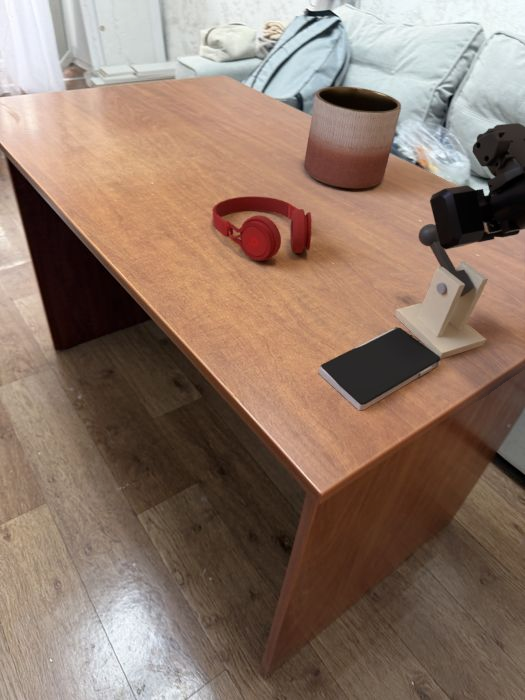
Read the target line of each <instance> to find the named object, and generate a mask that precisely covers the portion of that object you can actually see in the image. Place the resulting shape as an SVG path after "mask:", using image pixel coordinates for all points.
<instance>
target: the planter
mask: <svg viewBox="0 0 525 700" xmlns="http://www.w3.org/2000/svg"><path fill="white" fill-rule="evenodd" d="M401 110H402V104H401V102H400V101H399V100H398V99H396V98H395V97H393V96H391V95H388V94H386V93H383V92H381V91H376V90H372V89H368V88H362V87H354V86H344V85H343V86H341V85H340V86H338V85H337V86H327V87H322V88H320V89H318V90H316V92H315V94H314V99H313V107H312V114H311V120H310V124H309V130H308V131H309V132H308V137H307V142H306V143H307V144H306V149H305V155H304V165H303V166H304V169H305V171H306V172H307V174H308V175H309V176H310V177H312V178H313V179H314V180H316V181H317V182H319V183H321V184H324V185H327V186H330V187H335V188H339V189H346V190H362V189H369V188H372V187H374V186H377V185H378V184H380V183H381V182H382V181H383V180H384V177H385V173H386V170H387V166H388V162H389V158H390V154H391V150H392V146H393V141H394V138H395V134H396V130H397V126H398V122H399V117H400V114H401Z"/></svg>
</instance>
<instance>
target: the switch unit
mask: <svg viewBox="0 0 525 700" xmlns="http://www.w3.org/2000/svg"><path fill="white" fill-rule="evenodd" d="M460 270H465V272H466V274H467V275H468V277H469V279H470V281H471V283H472V284H473V286H474V288H473V289H471V290H470V291H469V292H468V293H466V294H465V295H464V296H462V297H460V295H461V293H462V291H463V288H464V286H465V284H464V283H463V282H461V281H460V280H459V279H458V278H456V277H455V276H454V275H452V274H451V273H450V272H449V271H447V270H446V269H445V268H444V267H441V266H438V267H436V269H435V271H434V273H433V276H432V278H431V281H430V284H429V287H428V289H427V292H426V294H425V297H424V300H423V302H419V303H416V304H412V305H408V306H403V307H400V308H396V310H395V313H394V316H395V318H397V320H398V321H399V322H401V323H402V324H403V326H405V327H406V328H407V329H408V330H409V331H410V333H412V334H413V335H414V336H415V337H416V339H417V340H418V341H419V342H420V343H422V344H423V345H425V346H426V347H427V348H429V349H430V350H431V351H433V352H434V353H435V354H437V355H438V356H439V357H440V360H441V359H445V358H448V357H451V356H455V355H458V354H460V353H464V352H467V351H470V350H475V349H476V348H480V347H483V346H484V344H485V342H486V340H487V339H486V338H485V337H484V336H483V335H482V334H480V333H479V332H478V331H477V330H475V329H474V328H473V327H472V326H471V325H470V324H469V323H468V322H469V320H470V318H471V315H472V314H473V311H474V310H475V308H476V305H477V303H478V301H479V299H480V297H481V294H482V293H483V290H484V289H485V287H486V285H487V282H488V281H489V278H488V277H487V276H485V275H484V274H482V273H481V272H480V271H478V270H477V269H476V268H474V267H473V266H472V265H470V264H469V263H467V261H460V262H459V263H458V265H457V267H456V271H460Z"/></svg>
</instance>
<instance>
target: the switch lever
mask: <svg viewBox="0 0 525 700" xmlns="http://www.w3.org/2000/svg"><path fill="white" fill-rule="evenodd" d="M418 240H419V242H420V243H421V244H422V245H423V246H425V247H429V248H430V249H431V251H432V253H433V255H434V257H435V259H436V260H437V262H438V264H439V267H444V268H445V269H446V270H447V271H449V272H450V273H451V274H452V275H454V276H455V277H456V278H458V279H459V280H460V281H461V282H463V283H464V284H465V286H464V288H463V291H462V293H461V295H460V297H462V296H464V295H465V294H466V293H468V292H469V291H470V290H471V289H473V288H474V286H473V284H472V283H471V281H470V279H469V277H468V275H467V274H466V272H465V270H460V271H456V270H457V268H456V267H455V266H454V263H453V262H452V260H451V258H450V256H449V255H448V253H447V251H446V250H445V249H444V248H443V247H442V246H440V242H439V238H438V233H437V229H436V225H435V223H428V224H425V225H424V226H422V227H421V229H420V230H419V232H418Z"/></svg>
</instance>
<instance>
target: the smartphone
mask: <svg viewBox="0 0 525 700" xmlns="http://www.w3.org/2000/svg"><path fill="white" fill-rule="evenodd" d="M440 362H441V359H440V357H439V356H438V355H437V354H435V353H434V352H433V351H431V350H430V349H429V348H427V347H426V346H425V345H424V344H423V343H422V342H421V341H420V340H419V339H417V338H415V337H414V336H413V335H411V334H410V333H408V332H407V331H406V330H404V329H403V328H401V327H398V326H396V327H393V328H392V329H389V330H388V331H385V332H383V333H381V334H379V335H378V336H375V337H373V338H372V339H369V340H367V341H366V342H364V343H362V344H360V345H357V346H355V347H354V348H351V349H350V350H347V351H345V352H343V353H342V354H339V355H338V356H335V357H333V358H332V359H330V360H328V361H326V362H324V363H321V364H320V366H319V369H318V374H319V375H320V376H321V377H322V378H324V380H325V381H326V382H327V383H328V384H330V385H331V386H332V387H333V389H335V390H336V391H337V392H338V393H339V394H340V395H341V396H342V397H344V399H346V400H347V401H348V402H349V403H350V404H351V405H352V406H353V407H354V408H356V409H357V410H358V411H364V410H366V409H368V408H369V407H371V406H372V405H374V404H377V402H379V401H381V400H383V399H384V398H386V397H388V396H389V395H391V394H393V393H395V392H397V390H399V389H401V388H403V387H404V386H406V385H408V384H410V383H411V382H413V381H414V380H416V379H418V378H420V377H421V376H424V375H425V374H427V373H429V372H431V371H432V370H433V369H435V368H436V367H438V366H439V364H440Z"/></svg>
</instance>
